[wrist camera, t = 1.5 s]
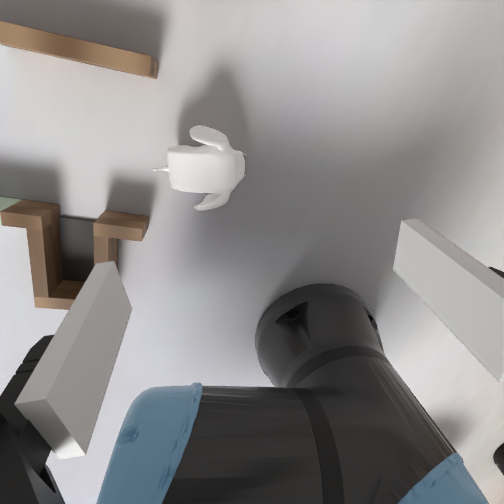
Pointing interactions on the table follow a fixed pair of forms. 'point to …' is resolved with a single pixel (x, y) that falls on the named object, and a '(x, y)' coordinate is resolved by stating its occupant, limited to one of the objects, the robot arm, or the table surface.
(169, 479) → the robot arm
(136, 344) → the table surface
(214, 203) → the elephant figurine
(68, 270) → the walnut maze corridor
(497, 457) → the pen holder
